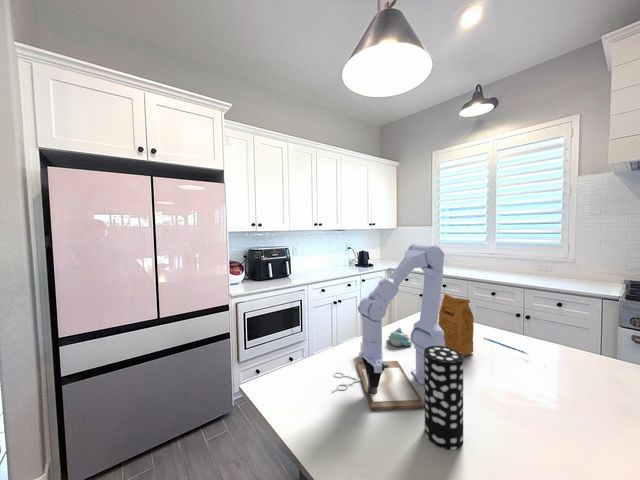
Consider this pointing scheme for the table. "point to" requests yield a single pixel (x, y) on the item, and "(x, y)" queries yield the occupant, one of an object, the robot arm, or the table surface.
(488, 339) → the grey thin rod
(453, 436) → the white-spotted black cylinder
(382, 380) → the clipboard
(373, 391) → the marker
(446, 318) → the coffee package
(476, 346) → the table surface
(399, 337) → the stuffed animal
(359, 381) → the scissors
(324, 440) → the table surface
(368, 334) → the robot arm
